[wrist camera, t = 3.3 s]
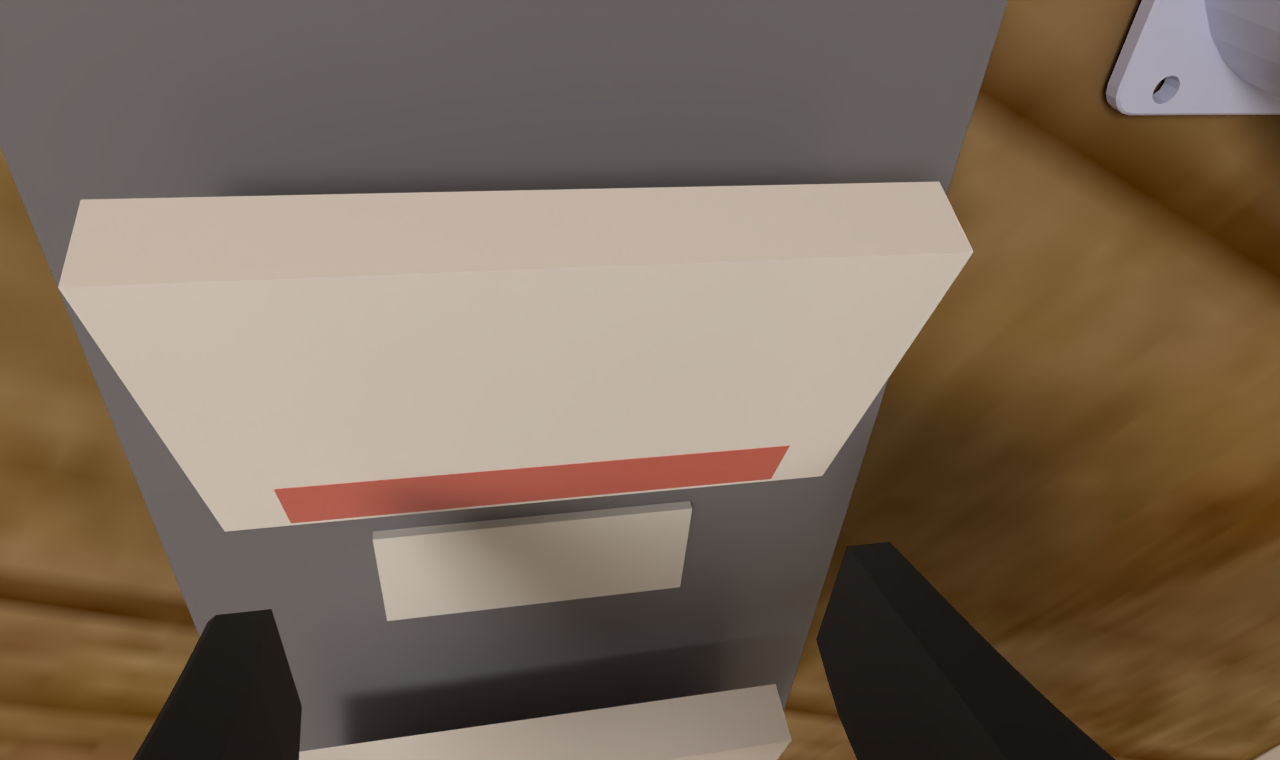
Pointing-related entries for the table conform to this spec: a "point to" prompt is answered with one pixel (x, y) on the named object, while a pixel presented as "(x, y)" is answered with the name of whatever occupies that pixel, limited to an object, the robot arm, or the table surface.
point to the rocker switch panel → (490, 161)
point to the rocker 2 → (606, 734)
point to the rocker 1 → (505, 337)
